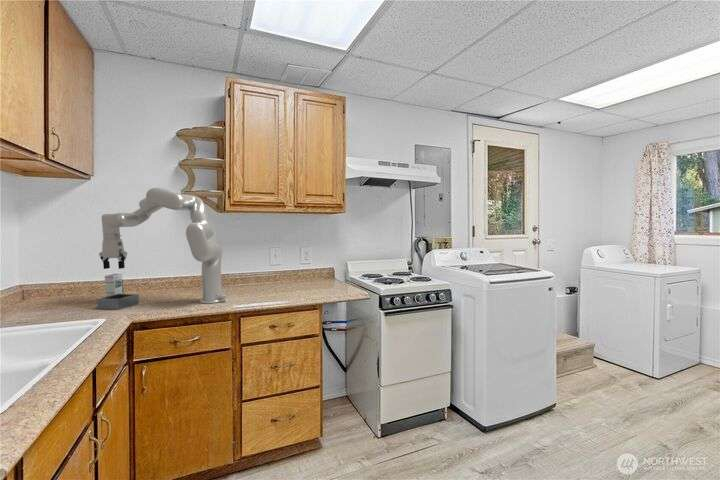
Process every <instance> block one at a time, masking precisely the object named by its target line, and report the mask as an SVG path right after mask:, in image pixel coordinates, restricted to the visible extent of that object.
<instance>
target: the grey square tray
mask: <svg viewBox="0 0 720 480" xmlns="http://www.w3.org/2000/svg"><path fill="white" fill-rule="evenodd" d="M139 304H140V296H139V294H137V293H136V294H135V293H123V294H115V295H111V296H107V297H106V296H104V297H98V298H96V309H97V310H111V311H112V310H114V311H115V310H117V311H119V310H122V309H123V310H124V309H125V308H129V307H133V306H136V305H139Z"/></svg>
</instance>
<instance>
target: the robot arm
mask: <svg viewBox="0 0 720 480" xmlns="http://www.w3.org/2000/svg"><path fill="white" fill-rule="evenodd" d="M138 206H139V208H138V209H137V210H134V211H133V212H117V213H105V214H102V215H101V225H102V239H103V240H102V244H101V249H102V251H101V252H99V253H98V256H99V258H100V259H101V262H102V265H103V269H104V270H105V269H107V270H108V269H110V266H111V264H110V261H109V260H110V259H117V260H118V262H117V263H118V264H117V266H118V269H120V270H121V269H124V268H126V267H125V261H126V259H127V257H128V256H127V255H128V252H127V251H125V246H124V243H123V240H122V238H121V236H122V235H121V231H120V229H121V228H133V227H137V226H139V225H141V224H143V223H145V222H146V221H148V220H149V219H150V218H151V216H152V214H154V213H156V212H157V211H159V210H160V209H162V208H163V209H164V208H166V209H170V210H174V211H189V215H190V216H189V217H190V220H191V223H190V224H189V225H188V226H187V227H186V229H185V236H186V237H185V238H186V240H187V243H188V246H189V249H190V252H191V254H192V257H193V259H195V260H196V261H197V262H201V263H202V264H201V292H202V298H200V299H199V303H200V304H216V303H221V302H224V301H226V299H228V297H229V294H228V293H227V294H226V293H224V291H223V290H222V256H223V250H222V247H221V245H220V244H219V243H218V242H215V241H208V240H210V239H212V238H213V236H214V229H213V226H212V223H211V220H210V217H209V215H208V214H209V213H208V211H207V207H206V204H205V202H204V201H203V199H202V198H200V197H199V196H197V195H191V194H187V193H177V192H173V191H171V190H169V189H167V188H161V187H152V188H149V189H148V191H146V193H145V198H142V199H141V200H140V201H139V203H138Z"/></svg>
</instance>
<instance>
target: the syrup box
mask: <svg viewBox="0 0 720 480" xmlns="http://www.w3.org/2000/svg"><path fill="white" fill-rule="evenodd" d="M104 287H105V289H104V290H105V297H107V296H111V295H115V294H124V282H123V274H122V273H112V274H107V275H104Z"/></svg>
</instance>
